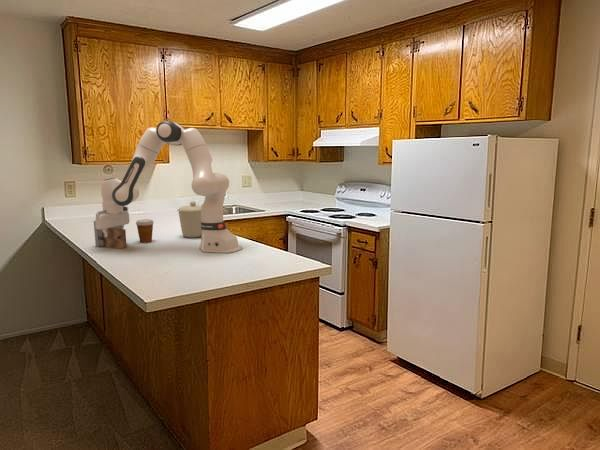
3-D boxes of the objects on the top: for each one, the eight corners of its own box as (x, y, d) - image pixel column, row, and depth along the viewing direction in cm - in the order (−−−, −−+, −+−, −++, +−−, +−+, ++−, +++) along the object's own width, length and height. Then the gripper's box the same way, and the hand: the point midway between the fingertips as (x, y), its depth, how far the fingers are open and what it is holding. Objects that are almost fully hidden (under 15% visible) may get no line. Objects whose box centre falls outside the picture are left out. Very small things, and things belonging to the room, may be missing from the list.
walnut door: (126, 248, 237) (125, 229, 235) (121, 249, 233) (119, 230, 232) (106, 245, 242) (105, 227, 241) (101, 247, 239) (99, 228, 237)
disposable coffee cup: (136, 243, 247) (134, 222, 245) (137, 240, 256) (136, 219, 254) (154, 242, 250) (153, 221, 248) (155, 239, 259) (153, 218, 257)
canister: (202, 239, 257) (200, 203, 253) (173, 238, 261) (171, 202, 257) (214, 234, 274) (213, 199, 271) (186, 233, 278) (185, 199, 274)
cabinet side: (128, 241, 254) (126, 216, 252) (103, 247, 238) (101, 221, 235) (121, 240, 256) (119, 216, 254) (95, 246, 240) (93, 220, 237)
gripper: (100, 212, 224) (102, 239, 227) (130, 207, 243) (132, 232, 245) (91, 211, 227) (93, 238, 229) (121, 206, 245) (123, 231, 248)
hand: (113, 235), depth 237 cm, fingers open, 8 cm apart
